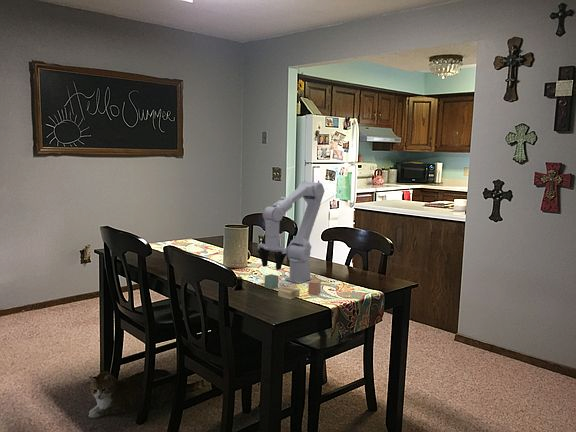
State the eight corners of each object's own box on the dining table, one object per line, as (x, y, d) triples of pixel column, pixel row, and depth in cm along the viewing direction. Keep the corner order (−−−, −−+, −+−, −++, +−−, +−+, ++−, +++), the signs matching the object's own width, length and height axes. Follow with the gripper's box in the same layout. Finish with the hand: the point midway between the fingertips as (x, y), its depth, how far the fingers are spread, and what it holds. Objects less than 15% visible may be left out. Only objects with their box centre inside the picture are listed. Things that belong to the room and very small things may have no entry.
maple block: (288, 293, 206) (288, 286, 206) (299, 296, 202) (299, 289, 202) (278, 296, 201) (278, 289, 201) (289, 300, 198) (289, 292, 197)
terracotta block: (311, 291, 209) (311, 279, 208) (320, 292, 207) (320, 280, 207) (308, 294, 205) (308, 282, 204) (317, 295, 204) (317, 283, 203)
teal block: (271, 285, 216) (271, 274, 215) (278, 287, 213) (278, 275, 213) (264, 287, 213) (264, 275, 212) (271, 289, 210) (271, 277, 210)
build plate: (228, 284, 218) (228, 274, 217) (245, 284, 219) (245, 273, 219) (231, 292, 206) (231, 281, 205) (249, 292, 207) (249, 281, 207)
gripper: (252, 234, 212) (252, 266, 213) (279, 239, 202) (278, 272, 204) (264, 232, 217) (263, 263, 219) (290, 237, 208) (289, 269, 210)
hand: (271, 267), depth 212 cm, fingers open, 7 cm apart
